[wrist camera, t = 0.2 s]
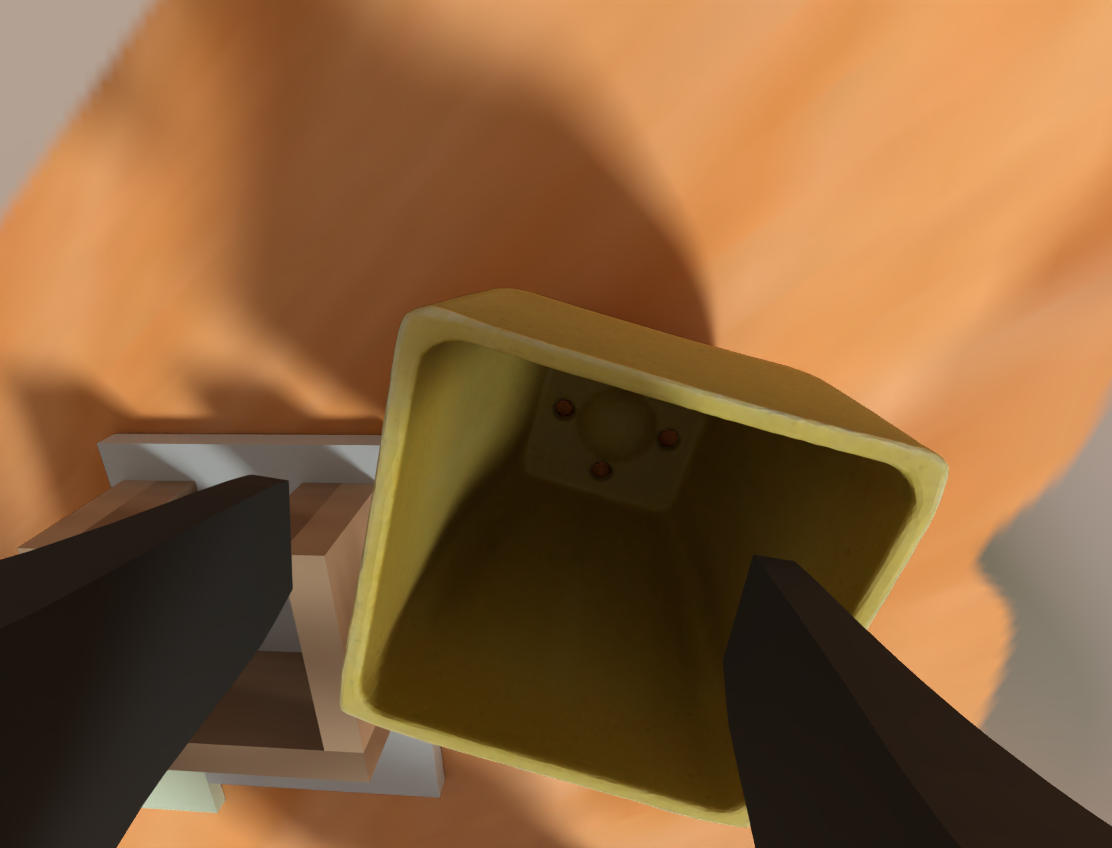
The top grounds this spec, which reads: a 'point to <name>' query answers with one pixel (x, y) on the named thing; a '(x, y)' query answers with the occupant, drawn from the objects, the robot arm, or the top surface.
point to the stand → (299, 461)
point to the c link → (276, 677)
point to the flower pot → (604, 539)
